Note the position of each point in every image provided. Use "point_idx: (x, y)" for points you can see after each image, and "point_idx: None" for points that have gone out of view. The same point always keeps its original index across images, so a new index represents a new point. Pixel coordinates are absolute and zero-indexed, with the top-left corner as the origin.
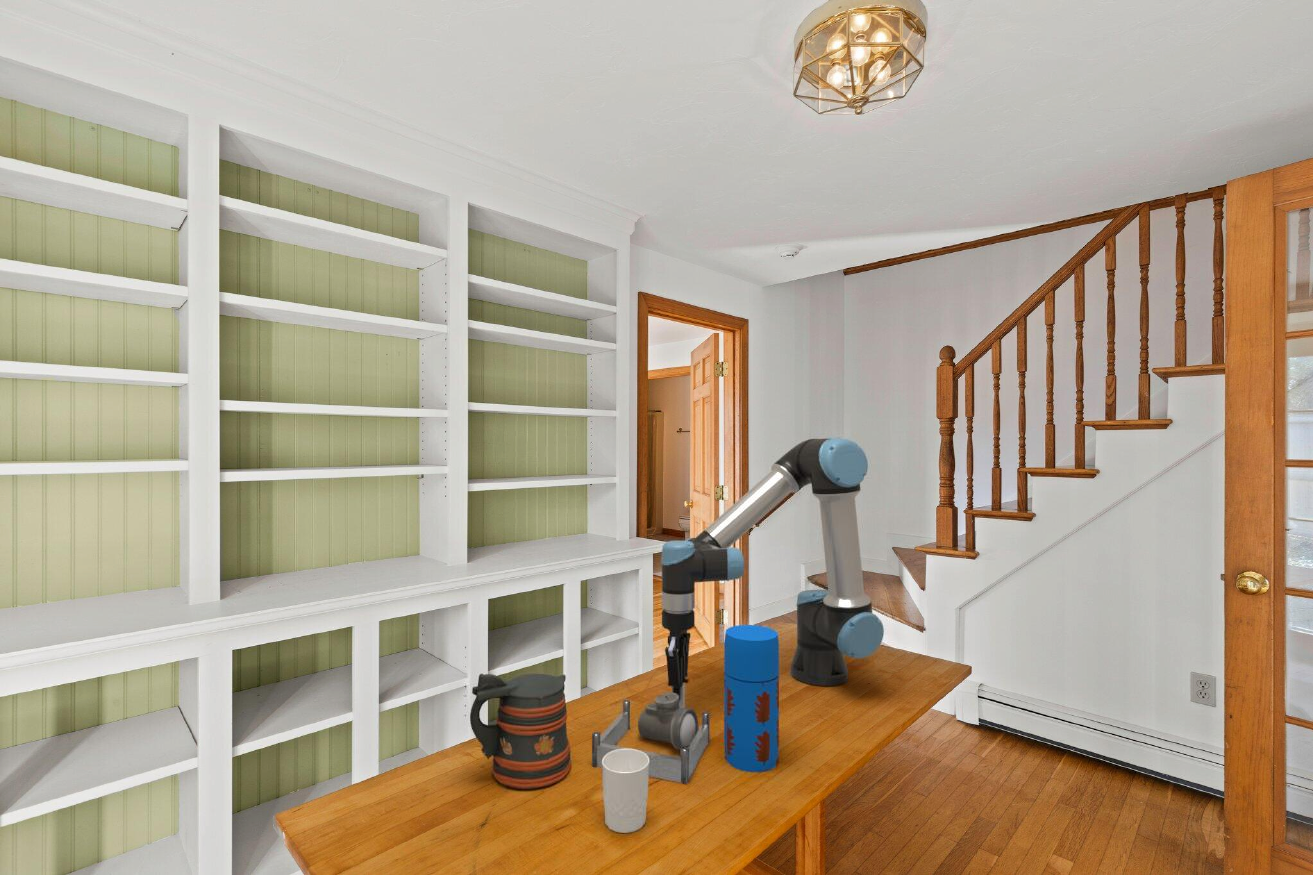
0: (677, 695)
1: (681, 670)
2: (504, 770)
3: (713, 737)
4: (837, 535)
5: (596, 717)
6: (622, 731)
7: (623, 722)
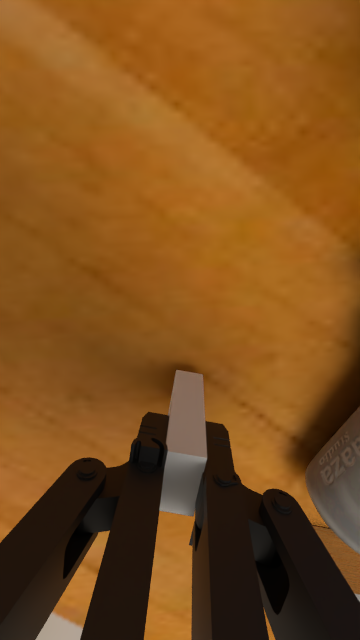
0: None
1: (242, 583)
2: None
3: (338, 237)
4: None
5: None
6: (347, 546)
7: (352, 572)
